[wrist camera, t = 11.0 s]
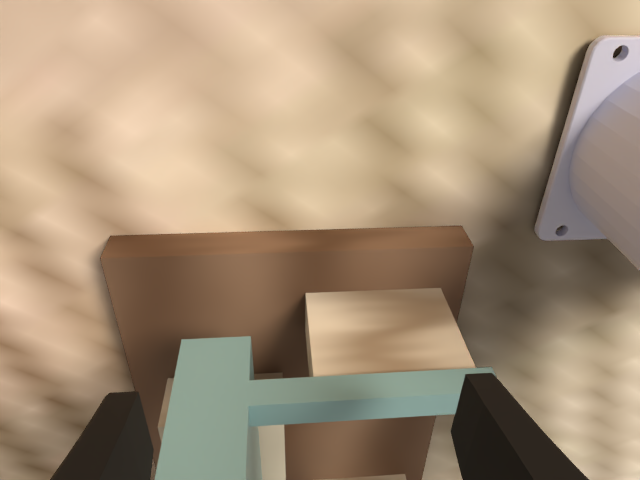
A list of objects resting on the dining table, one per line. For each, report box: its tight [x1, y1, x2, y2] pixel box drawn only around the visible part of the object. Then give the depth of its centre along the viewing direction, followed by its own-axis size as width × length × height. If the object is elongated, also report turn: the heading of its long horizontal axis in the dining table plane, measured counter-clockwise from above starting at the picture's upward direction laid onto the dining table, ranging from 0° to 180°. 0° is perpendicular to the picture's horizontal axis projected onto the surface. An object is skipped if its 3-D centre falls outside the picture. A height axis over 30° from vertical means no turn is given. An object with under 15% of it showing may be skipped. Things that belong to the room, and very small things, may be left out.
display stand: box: [100, 226, 476, 480], centre depth 23 cm, size 14×19×6 cm
